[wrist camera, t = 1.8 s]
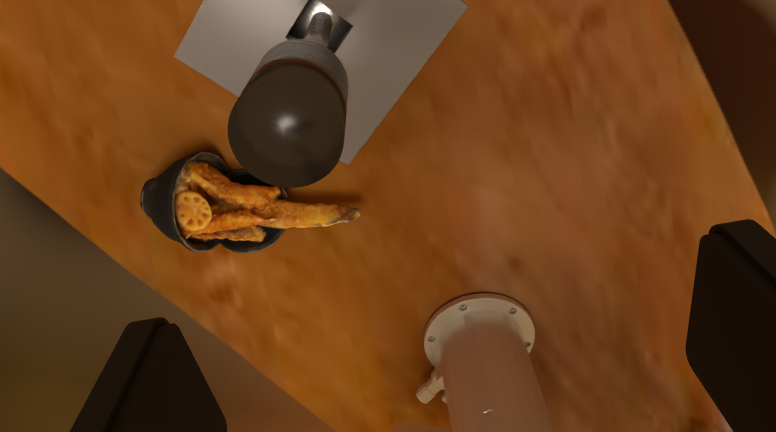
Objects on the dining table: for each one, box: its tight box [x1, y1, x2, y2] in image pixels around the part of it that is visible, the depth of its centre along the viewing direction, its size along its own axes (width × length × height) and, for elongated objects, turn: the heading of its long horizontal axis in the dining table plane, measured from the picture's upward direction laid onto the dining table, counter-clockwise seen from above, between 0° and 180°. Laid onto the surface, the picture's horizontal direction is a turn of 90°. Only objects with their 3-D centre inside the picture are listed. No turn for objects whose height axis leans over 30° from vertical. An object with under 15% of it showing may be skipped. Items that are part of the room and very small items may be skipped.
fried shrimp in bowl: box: [140, 151, 361, 253], centre depth 49 cm, size 9×11×18 cm
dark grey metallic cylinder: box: [228, 0, 351, 188], centre depth 25 cm, size 8×8×17 cm
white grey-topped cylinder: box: [174, 0, 468, 165], centre depth 37 cm, size 14×11×17 cm
